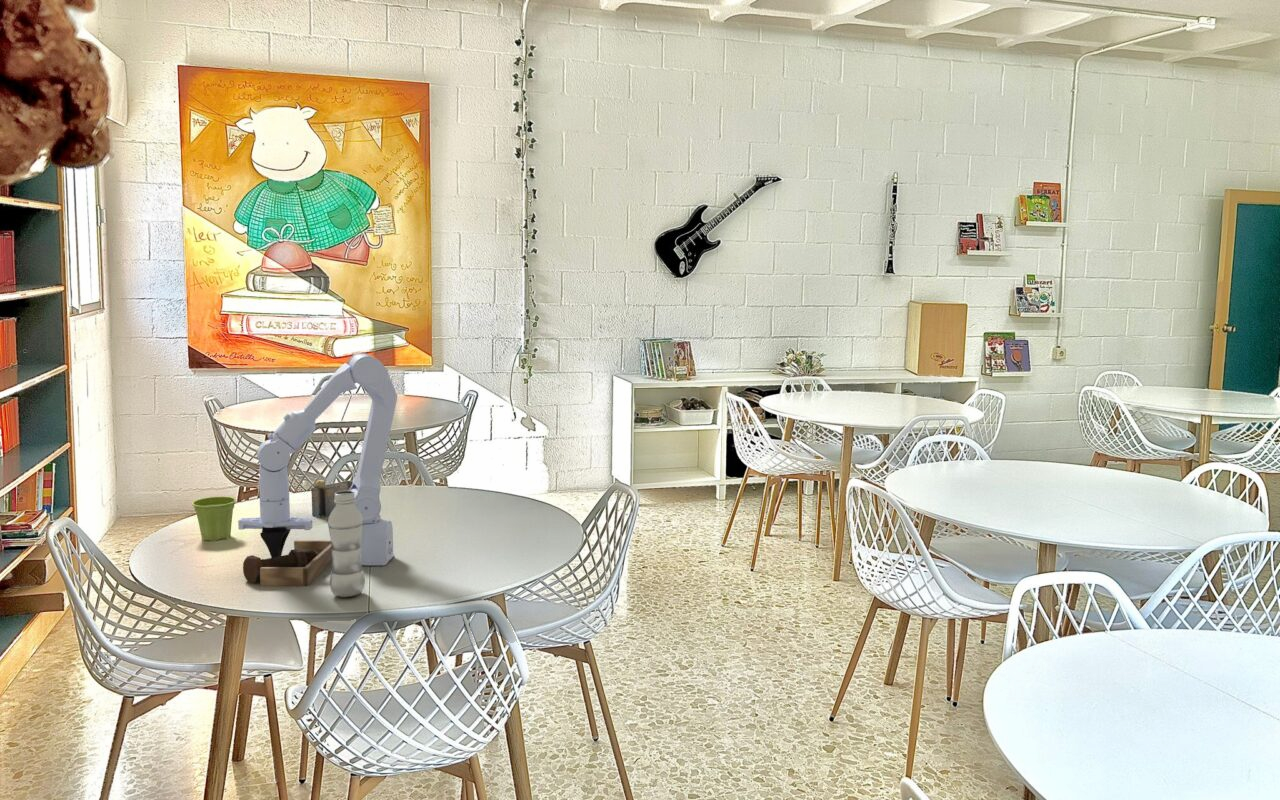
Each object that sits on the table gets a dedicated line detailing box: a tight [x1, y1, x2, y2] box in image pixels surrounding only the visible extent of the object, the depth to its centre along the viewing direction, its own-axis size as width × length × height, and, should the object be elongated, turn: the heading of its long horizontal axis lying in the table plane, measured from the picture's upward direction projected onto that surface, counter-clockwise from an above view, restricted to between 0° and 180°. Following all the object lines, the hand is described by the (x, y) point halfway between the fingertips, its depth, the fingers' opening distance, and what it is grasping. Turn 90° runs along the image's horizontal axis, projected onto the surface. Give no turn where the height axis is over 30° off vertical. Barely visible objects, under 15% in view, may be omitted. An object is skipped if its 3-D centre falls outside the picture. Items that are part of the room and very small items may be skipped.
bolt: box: [242, 548, 319, 585], centre depth 204 cm, size 6×5×15 cm
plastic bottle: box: [327, 491, 366, 598], centre depth 190 cm, size 6×7×20 cm
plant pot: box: [191, 495, 237, 542], centre depth 231 cm, size 9×9×9 cm
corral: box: [259, 539, 332, 587], centre depth 207 cm, size 9×21×4 cm, turn 0°
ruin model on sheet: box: [310, 479, 353, 518], centre depth 256 cm, size 11×3×10 cm, turn 143°
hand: (276, 563), depth 207 cm, fingers closed
